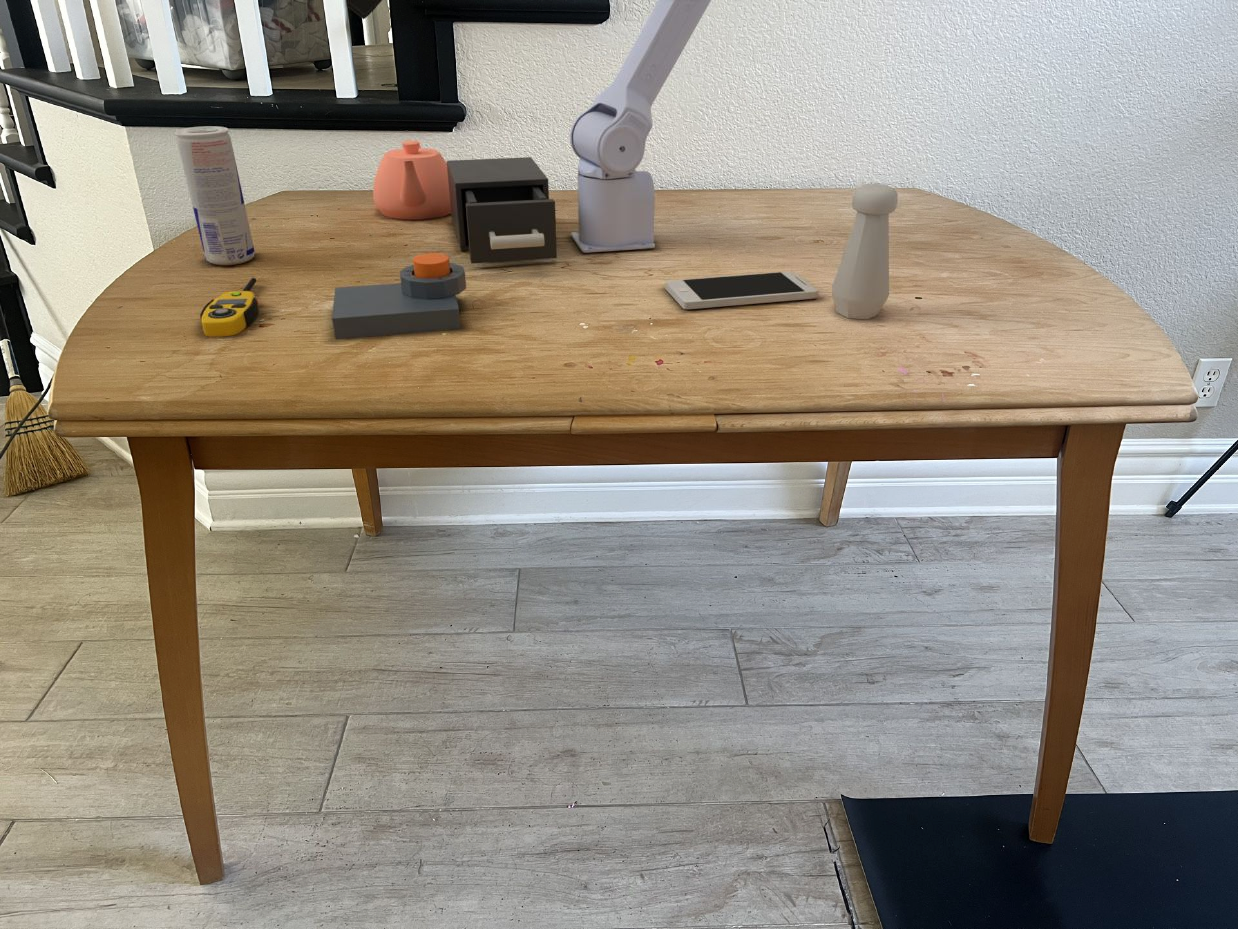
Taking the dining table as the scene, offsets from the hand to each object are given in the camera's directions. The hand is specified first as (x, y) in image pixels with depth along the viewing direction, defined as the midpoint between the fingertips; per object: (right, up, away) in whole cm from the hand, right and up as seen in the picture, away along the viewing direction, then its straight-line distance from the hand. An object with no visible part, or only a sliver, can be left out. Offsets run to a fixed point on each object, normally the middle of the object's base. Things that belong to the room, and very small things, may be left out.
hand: (355, 10), depth 87 cm
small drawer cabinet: (+11, -16, +27) cm, 33 cm away
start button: (+8, -27, +1) cm, 28 cm away
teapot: (-2, -10, +36) cm, 38 cm away
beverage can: (-20, -22, +17) cm, 34 cm away
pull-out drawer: (+13, -20, +18) cm, 30 cm away
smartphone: (+40, -27, +8) cm, 49 cm away
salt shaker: (+52, -30, +3) cm, 60 cm away
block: (+4, -31, +1) cm, 32 cm away
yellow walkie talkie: (-13, -30, +2) cm, 33 cm away
